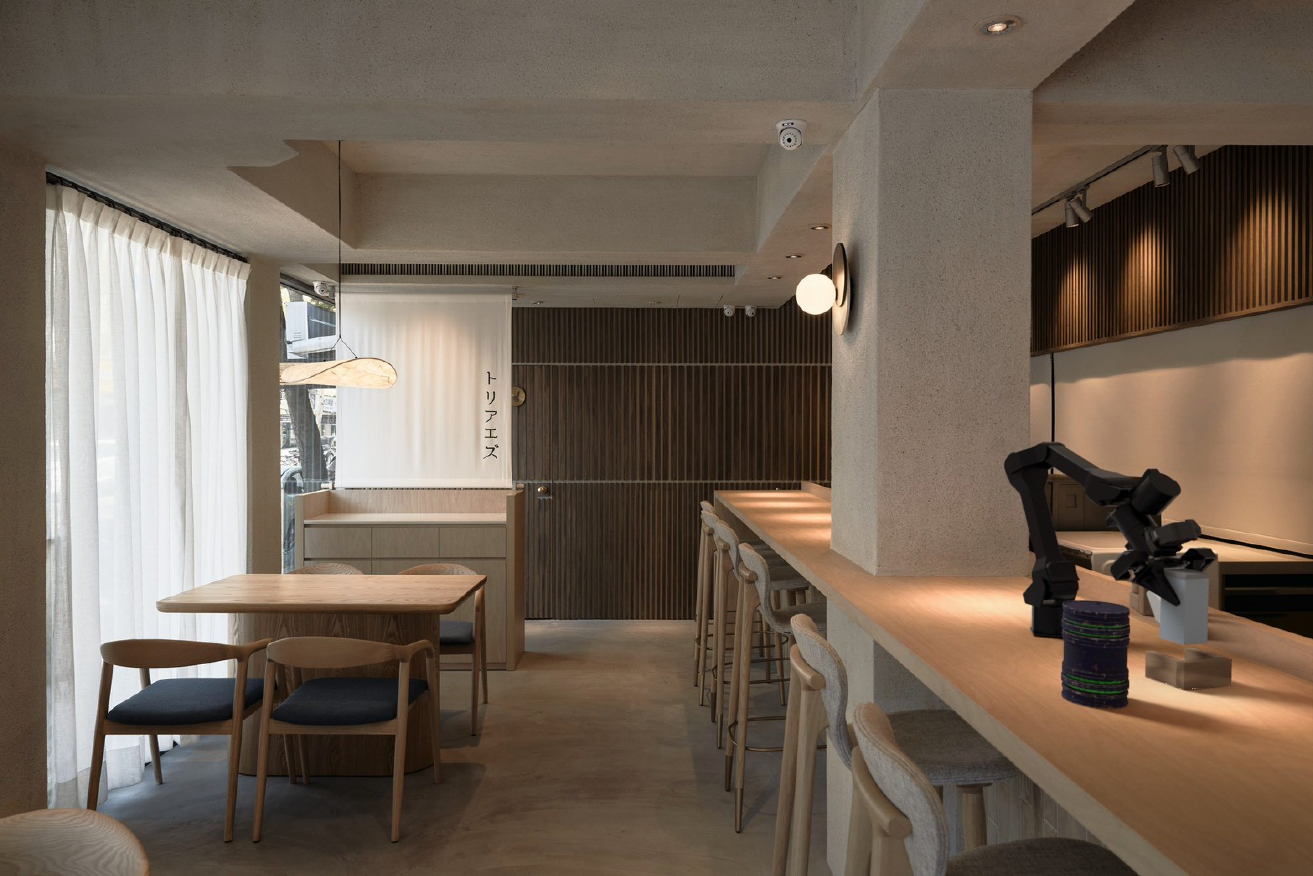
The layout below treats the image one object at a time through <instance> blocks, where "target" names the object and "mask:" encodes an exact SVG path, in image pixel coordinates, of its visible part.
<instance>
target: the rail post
mask: <svg viewBox="0 0 1313 876" xmlns="http://www.w3.org/2000/svg"><path fill="white" fill-rule="evenodd" d="M1164 574H1165V576H1166V578H1167V580H1168V581H1169V583H1170V585H1171V586H1172V588H1173V589H1174V591H1175V593H1176V594H1177V596H1178V598H1179V600H1180V605H1178V606H1174V605H1172V604H1171V603H1169V602H1167V601H1166V600H1164V599H1162V598H1161V605H1160V623H1159V639H1162V640H1166V641H1168V642H1172V643H1176V644H1178V645H1182V646H1190V645H1203V644H1204V645H1205V644H1208V633H1209V631H1208V630H1209V596H1210V595H1209V590H1210V589H1209V586H1210V585H1209V584H1210V578H1211V573H1209V572H1200V571H1195V570H1190V569H1185V568H1182V569H1164Z"/></svg>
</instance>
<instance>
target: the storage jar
mask: <svg viewBox="0 0 1313 876" xmlns="http://www.w3.org/2000/svg"><path fill="white" fill-rule="evenodd" d="M1063 609H1064V612H1063V619H1062V627H1063V628H1062V637H1063V638H1062V639H1063V660H1062V661H1061V672H1060V680H1061V687H1062V690H1061V697H1062V698H1063V699H1064V700H1066V701H1068V702H1070V703H1072V704H1075V705H1079V706H1083V707H1087V708H1093V709H1103V710H1115V709H1116V710H1117V709H1123V708H1126V707H1127V706H1128V705H1129V698H1128V696H1129V689H1130V679H1129V678H1130V676H1129V674H1130V673H1129V671H1130V670H1129V668H1128V652H1129V651H1128V647H1129V645H1130V641H1131V639H1130V634H1131V623H1130V619H1131V618H1130V615H1131V612H1130V611H1131V609H1130V608H1129V607H1128V606H1125V605H1123V604H1117V603H1115V602H1108V601H1100V600H1089V599H1087V600H1085V599H1083V600H1081V599H1075V600H1073V601H1066V602H1064V603H1063Z"/></svg>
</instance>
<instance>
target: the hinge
mask: <svg viewBox="0 0 1313 876" xmlns="http://www.w3.org/2000/svg"><path fill="white" fill-rule="evenodd" d="M1147 596H1148V599H1149V602H1150V605H1151V608H1152V611H1153V614H1154V616H1153V617H1154V619H1155V621H1156V622H1158V623H1159V624H1160V605H1161V597H1159V596H1158V595H1156V594H1154V593H1153V592H1151V591H1148V592H1147Z"/></svg>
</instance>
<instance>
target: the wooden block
mask: <svg viewBox="0 0 1313 876" xmlns="http://www.w3.org/2000/svg"><path fill="white" fill-rule="evenodd" d="M1134 577H1135V575H1134V572H1133V570H1131V580H1132V579H1133V578H1134ZM1148 591H1149V590H1147V589H1145V588H1143V587H1142V586H1140V585H1138V584H1133V583H1132V582H1131V591H1130V592H1129V607H1131V608H1132V609H1134V610H1135V611H1136V612H1138V613H1139V614H1141V615H1142V616H1145V617H1146V616H1149V617H1155V616H1154V614H1153V611H1152V608H1151V605H1150V602H1149V599H1148V596H1147V592H1148Z"/></svg>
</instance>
